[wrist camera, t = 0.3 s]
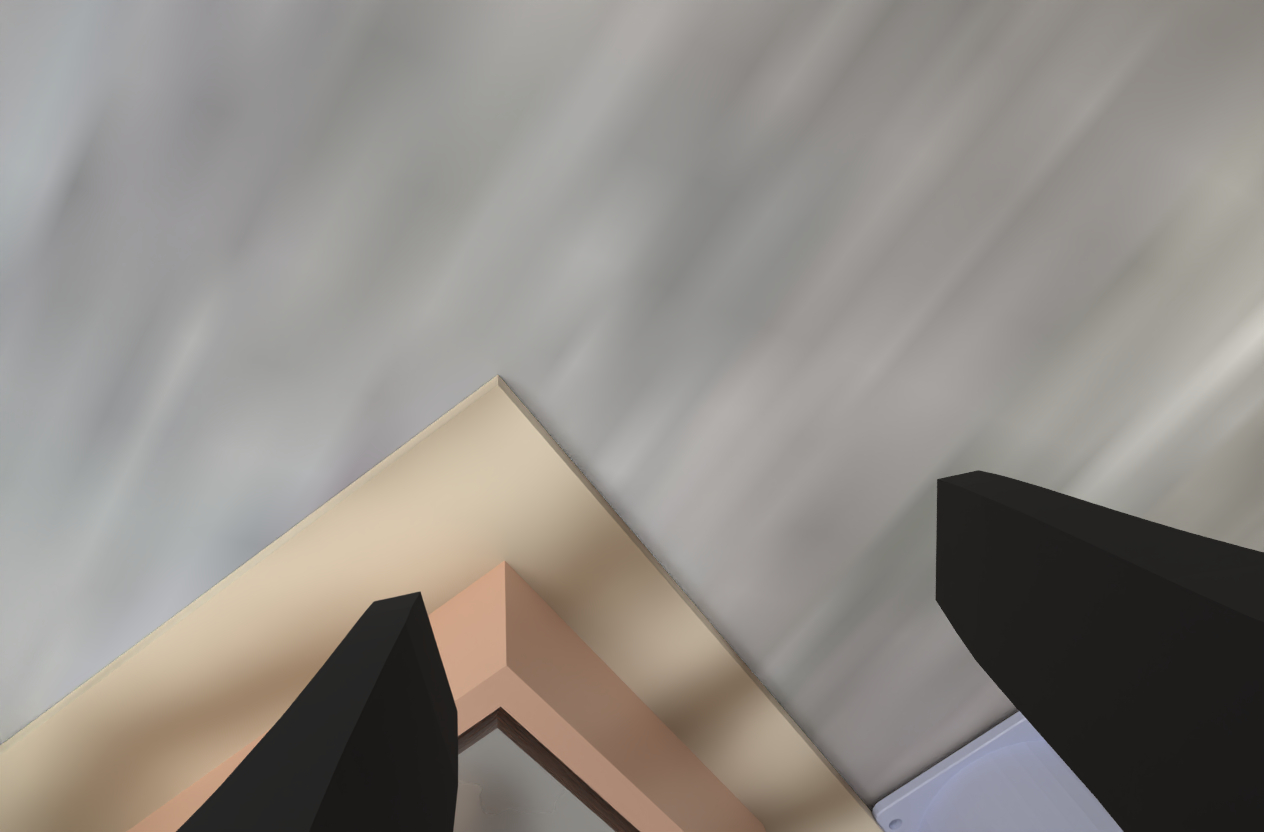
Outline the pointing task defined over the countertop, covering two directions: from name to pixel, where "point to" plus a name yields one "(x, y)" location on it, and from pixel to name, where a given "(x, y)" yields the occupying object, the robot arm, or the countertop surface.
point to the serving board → (440, 568)
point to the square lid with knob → (523, 785)
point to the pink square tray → (548, 714)
